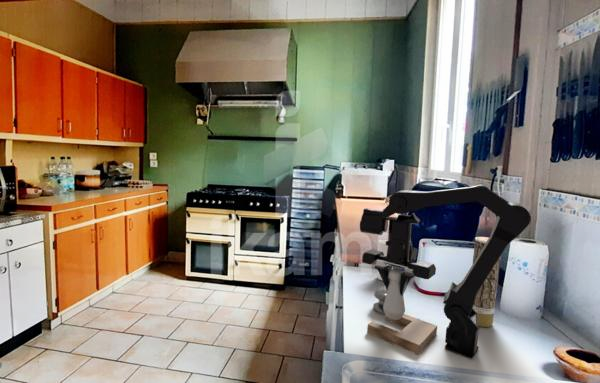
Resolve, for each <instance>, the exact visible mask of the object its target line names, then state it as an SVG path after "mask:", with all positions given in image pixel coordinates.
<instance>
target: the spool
mask: <svg viewBox="0 0 600 383" xmlns="http://www.w3.org/2000/svg"><path fill="white" fill-rule="evenodd" d="M386 294H387V290H386V289H377V290H374V294H373V295H374V298H375V299H377V300H378V302H375V303H373V308H372V309H373V310H374V311H375V312H376V313H378V314H381V315H385V312H384V309H383V306H384V302H385V298H386Z"/></svg>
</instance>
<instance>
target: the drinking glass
mask: <svg viewBox="0 0 600 383" xmlns="http://www.w3.org/2000/svg"><path fill="white" fill-rule="evenodd" d="M386 241H388V239H379V240H378V241H377V249H376V250H377V251H382V252H383V253H384V256H387V247H388V245H386ZM393 267H394V266H393ZM393 267H392V269H394V268H393ZM376 271H377V275H376V276H377V279H378V280H379V281H382V282H383V280H382V278H381V276H380V274H379V272H378V270H377V269H376Z"/></svg>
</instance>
